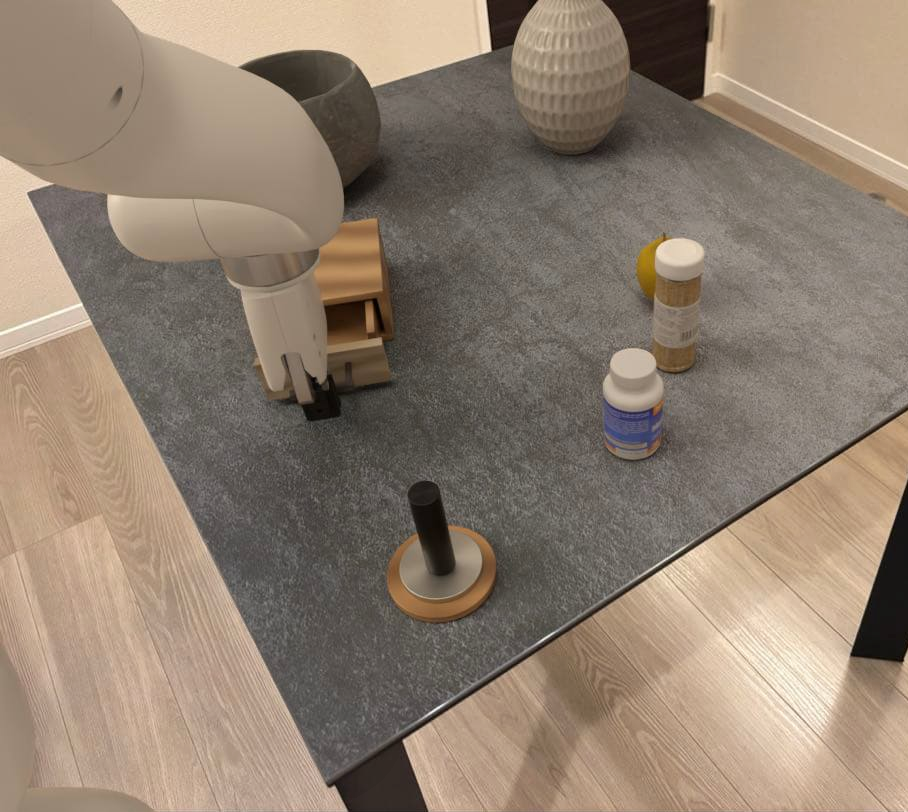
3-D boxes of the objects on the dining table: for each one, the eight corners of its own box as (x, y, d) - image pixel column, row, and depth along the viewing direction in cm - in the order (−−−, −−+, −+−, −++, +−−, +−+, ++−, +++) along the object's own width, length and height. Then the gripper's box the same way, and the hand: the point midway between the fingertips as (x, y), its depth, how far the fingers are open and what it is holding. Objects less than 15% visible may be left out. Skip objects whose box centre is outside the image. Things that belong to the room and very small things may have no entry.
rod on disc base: (488, 594, 66) (474, 520, 59) (403, 611, 65) (379, 537, 58) (477, 527, 70) (463, 451, 64) (398, 542, 70) (375, 466, 63)
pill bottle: (663, 461, 76) (668, 383, 69) (604, 462, 76) (603, 385, 69) (658, 418, 79) (662, 341, 73) (601, 420, 80) (601, 343, 73)
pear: (659, 276, 96) (662, 215, 90) (704, 298, 92) (710, 236, 87) (622, 301, 93) (623, 240, 87) (667, 325, 89) (671, 263, 84)
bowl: (227, 169, 121) (191, 67, 110) (364, 132, 127) (341, 31, 116) (261, 237, 107) (223, 127, 96) (412, 192, 113) (392, 84, 102)
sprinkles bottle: (681, 340, 87) (690, 231, 78) (703, 367, 84) (715, 256, 75) (642, 352, 86) (647, 243, 77) (662, 379, 83) (669, 269, 74)
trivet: (504, 610, 65) (504, 605, 65) (391, 633, 65) (389, 627, 64) (489, 522, 72) (488, 516, 71) (385, 541, 71) (384, 535, 70)
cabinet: (394, 339, 90) (383, 290, 86) (269, 359, 89) (250, 311, 85) (387, 264, 101) (377, 217, 96) (275, 282, 100) (258, 235, 95)
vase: (502, 165, 117) (486, -1, 101) (536, 114, 128) (526, -43, 112) (614, 176, 113) (615, 5, 97) (639, 123, 124) (643, -40, 108)
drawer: (393, 408, 81) (384, 372, 78) (266, 430, 80) (251, 394, 77) (384, 302, 94) (376, 267, 90) (274, 319, 93) (262, 284, 89)
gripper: (228, 207, 70) (287, 368, 83) (210, 313, 60) (281, 479, 72) (317, 195, 71) (362, 356, 84) (315, 297, 60) (367, 464, 73)
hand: (324, 413), depth 78 cm, fingers closed
